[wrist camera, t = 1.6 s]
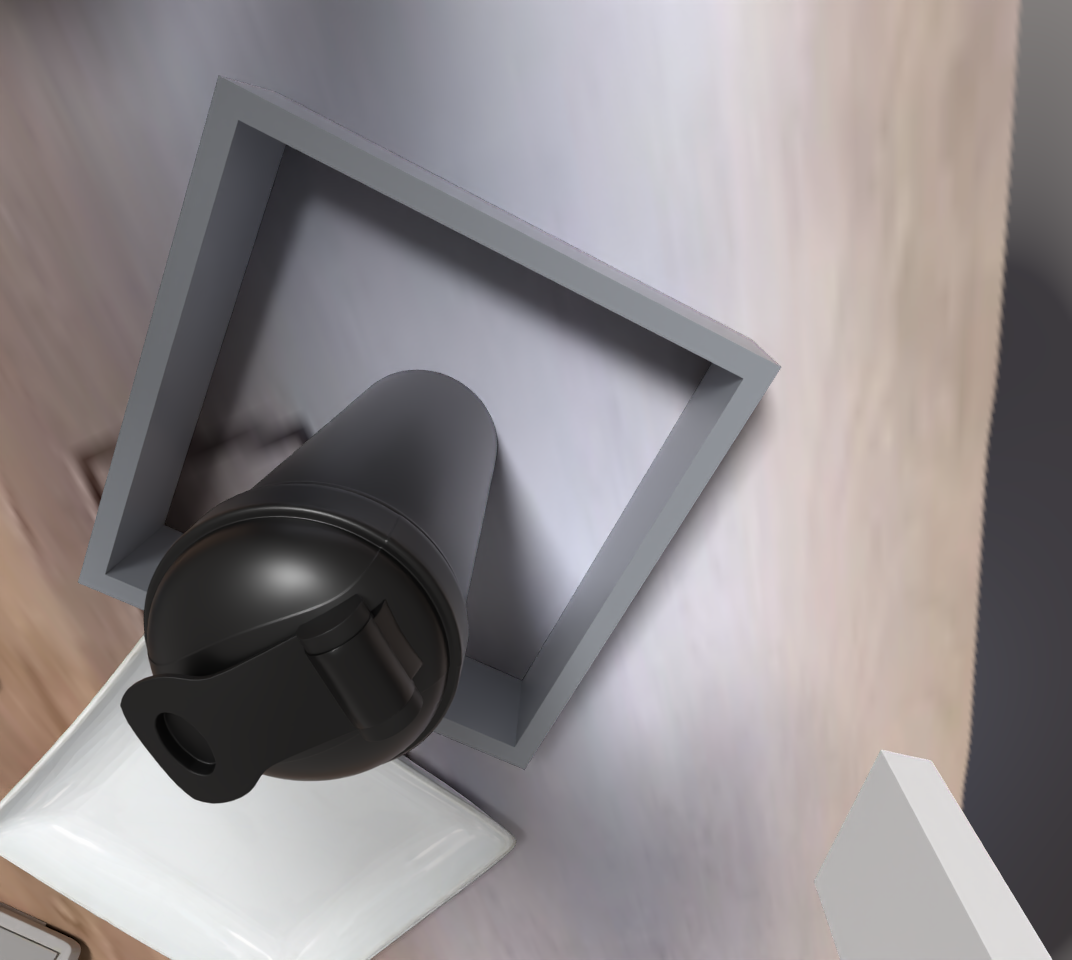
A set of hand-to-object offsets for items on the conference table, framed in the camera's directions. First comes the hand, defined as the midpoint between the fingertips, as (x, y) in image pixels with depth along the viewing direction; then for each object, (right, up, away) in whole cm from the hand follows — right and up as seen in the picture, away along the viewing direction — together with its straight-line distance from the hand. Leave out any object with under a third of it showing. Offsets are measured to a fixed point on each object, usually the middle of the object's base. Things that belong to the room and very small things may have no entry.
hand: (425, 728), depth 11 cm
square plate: (-18, -20, +43) cm, 50 cm away
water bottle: (-5, +6, +31) cm, 32 cm away
